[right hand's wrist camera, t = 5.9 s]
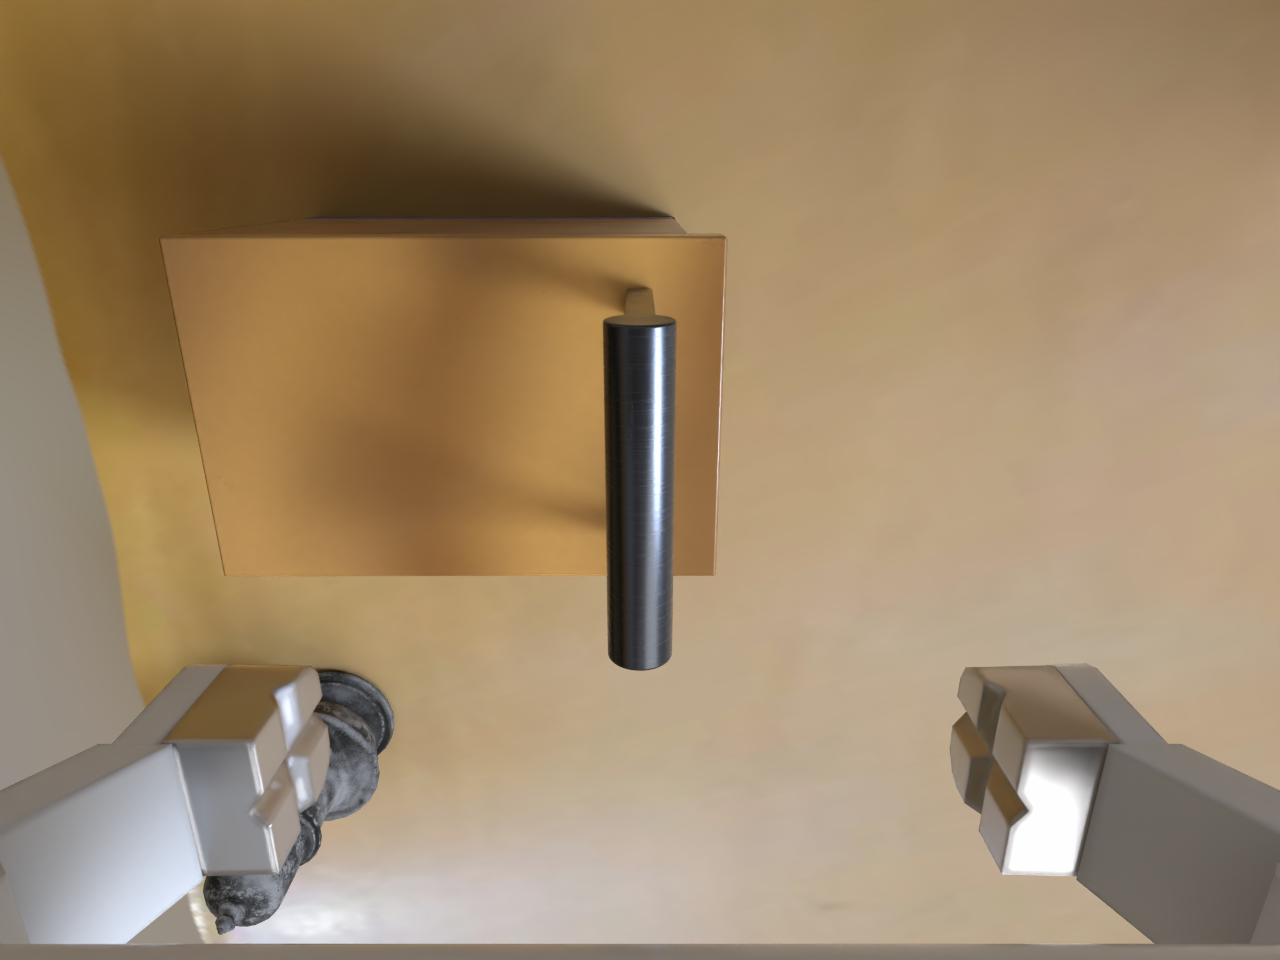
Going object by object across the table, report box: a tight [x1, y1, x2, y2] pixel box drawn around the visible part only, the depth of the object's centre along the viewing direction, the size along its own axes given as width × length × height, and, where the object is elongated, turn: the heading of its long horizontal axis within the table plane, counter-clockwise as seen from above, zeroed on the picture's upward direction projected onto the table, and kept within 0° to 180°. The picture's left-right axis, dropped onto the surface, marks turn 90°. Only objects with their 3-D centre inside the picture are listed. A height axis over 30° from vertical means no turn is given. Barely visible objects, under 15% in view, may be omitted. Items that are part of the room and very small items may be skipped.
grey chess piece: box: [203, 672, 394, 935], centre depth 34 cm, size 6×6×12 cm
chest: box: [186, 217, 687, 234], centre depth 29 cm, size 14×10×10 cm
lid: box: [159, 234, 728, 671], centre depth 20 cm, size 15×10×8 cm, turn 90°
